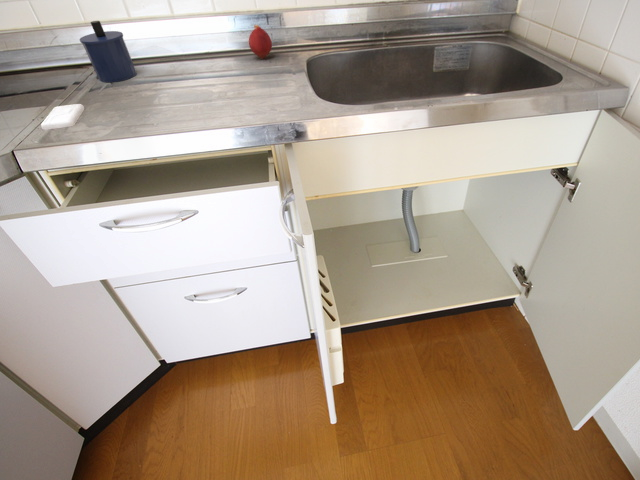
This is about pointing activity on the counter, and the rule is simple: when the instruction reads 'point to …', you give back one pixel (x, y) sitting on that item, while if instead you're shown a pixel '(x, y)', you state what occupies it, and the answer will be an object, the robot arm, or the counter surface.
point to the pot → (111, 60)
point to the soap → (63, 116)
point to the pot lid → (100, 35)
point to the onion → (260, 42)
